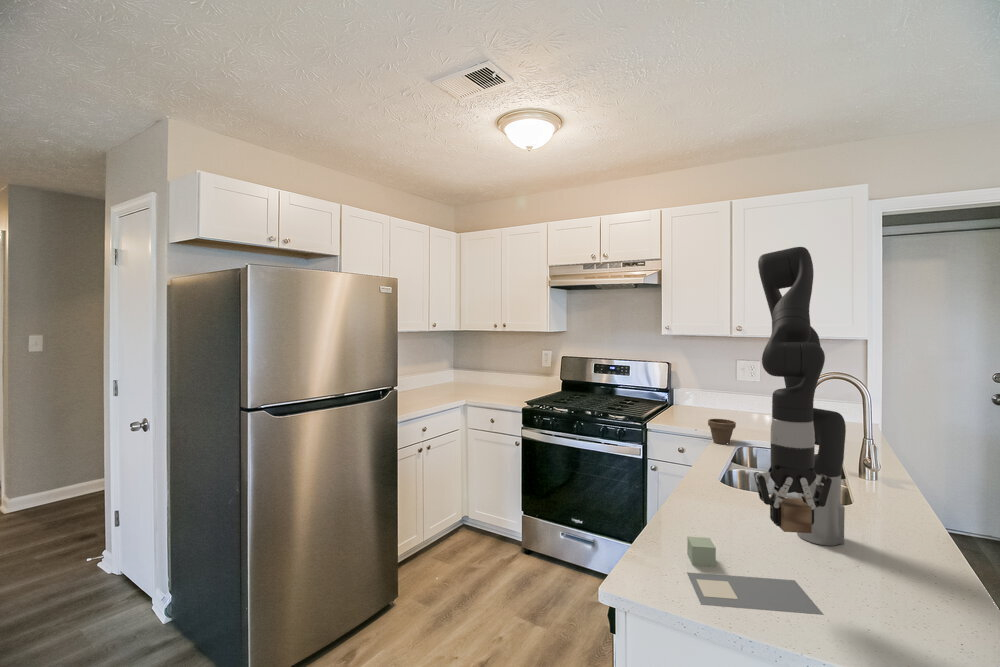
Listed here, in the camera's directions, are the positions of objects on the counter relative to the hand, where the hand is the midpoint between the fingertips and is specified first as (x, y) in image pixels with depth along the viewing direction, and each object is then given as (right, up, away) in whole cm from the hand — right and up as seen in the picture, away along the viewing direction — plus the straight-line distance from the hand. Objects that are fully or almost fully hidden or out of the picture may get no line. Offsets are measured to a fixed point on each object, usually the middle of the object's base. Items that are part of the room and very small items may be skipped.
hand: (791, 524), depth 96 cm
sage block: (-12, -15, +15) cm, 24 cm away
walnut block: (0, 0, 0) cm, 0 cm away
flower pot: (+42, -12, +122) cm, 129 cm away
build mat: (-8, -15, +2) cm, 17 cm away
